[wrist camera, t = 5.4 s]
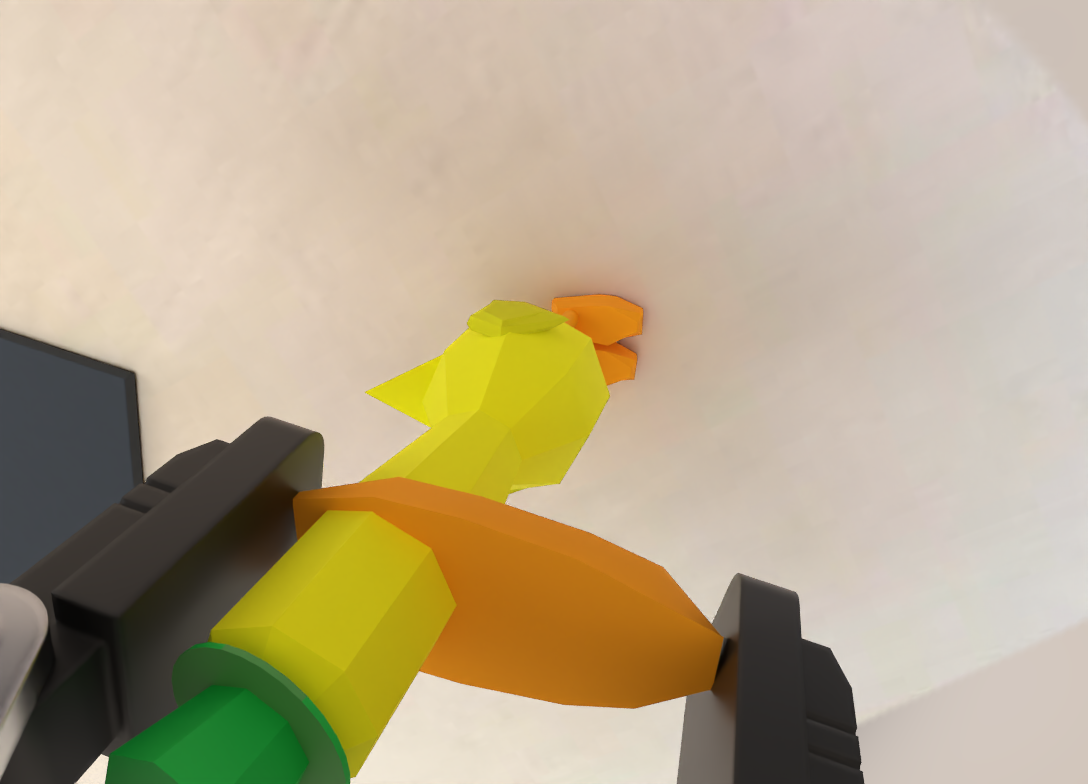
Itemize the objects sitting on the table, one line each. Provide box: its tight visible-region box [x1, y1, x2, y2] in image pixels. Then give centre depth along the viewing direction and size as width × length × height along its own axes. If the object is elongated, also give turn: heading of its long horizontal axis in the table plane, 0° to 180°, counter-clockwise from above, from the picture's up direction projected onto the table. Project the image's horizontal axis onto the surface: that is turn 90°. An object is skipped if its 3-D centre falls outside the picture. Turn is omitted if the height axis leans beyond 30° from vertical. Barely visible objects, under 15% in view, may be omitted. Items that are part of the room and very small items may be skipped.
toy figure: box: [105, 294, 724, 784], centre depth 11 cm, size 7×4×12 cm, turn 87°
